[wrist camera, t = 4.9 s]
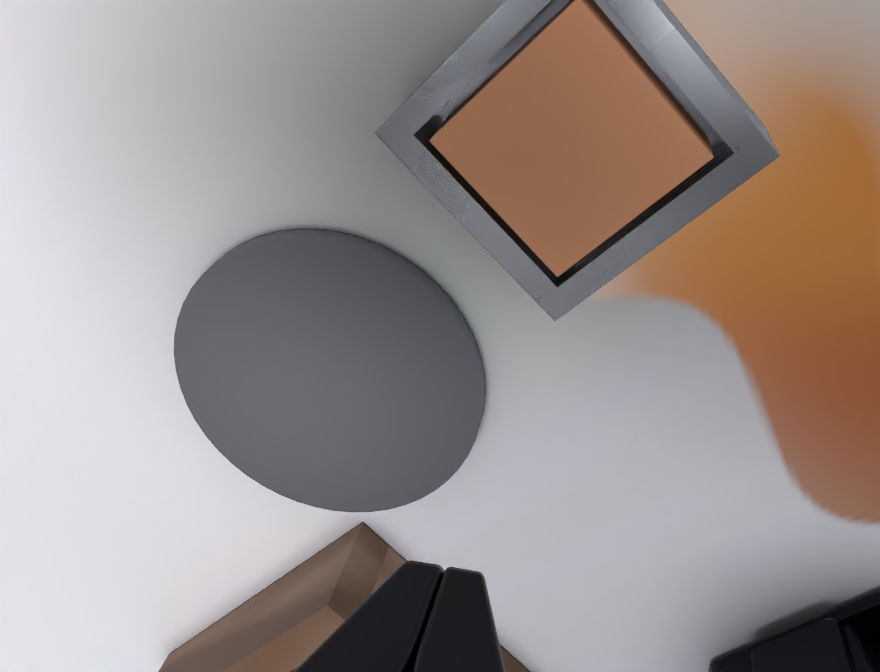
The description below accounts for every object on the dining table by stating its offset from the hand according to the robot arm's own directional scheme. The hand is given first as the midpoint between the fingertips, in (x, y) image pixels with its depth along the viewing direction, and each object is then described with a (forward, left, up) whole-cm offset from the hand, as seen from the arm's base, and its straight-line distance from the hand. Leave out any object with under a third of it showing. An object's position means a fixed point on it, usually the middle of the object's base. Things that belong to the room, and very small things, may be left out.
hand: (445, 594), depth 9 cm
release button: (+1, -2, -12) cm, 12 cm away
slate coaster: (0, +8, -13) cm, 15 cm away
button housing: (+1, -2, -13) cm, 13 cm away
